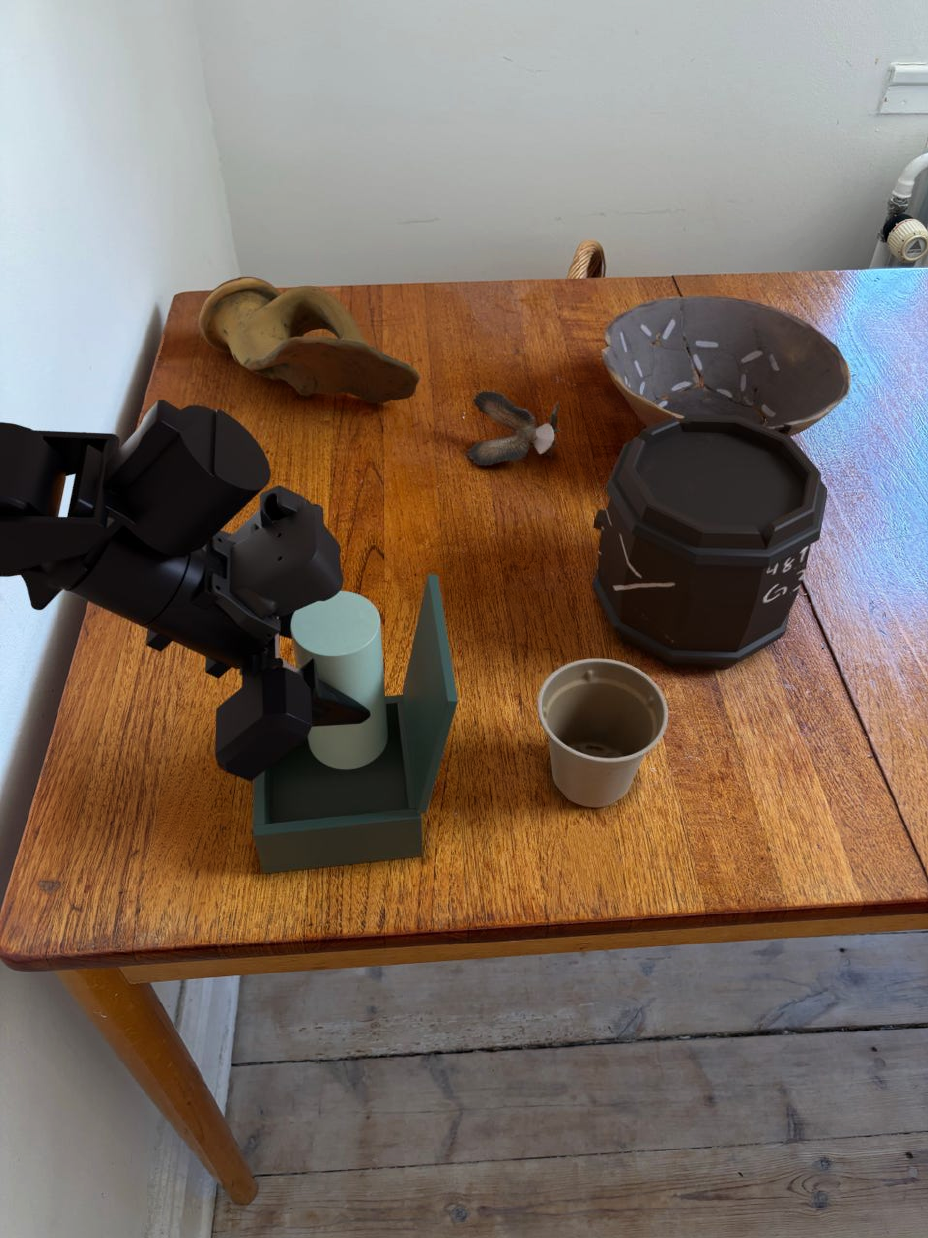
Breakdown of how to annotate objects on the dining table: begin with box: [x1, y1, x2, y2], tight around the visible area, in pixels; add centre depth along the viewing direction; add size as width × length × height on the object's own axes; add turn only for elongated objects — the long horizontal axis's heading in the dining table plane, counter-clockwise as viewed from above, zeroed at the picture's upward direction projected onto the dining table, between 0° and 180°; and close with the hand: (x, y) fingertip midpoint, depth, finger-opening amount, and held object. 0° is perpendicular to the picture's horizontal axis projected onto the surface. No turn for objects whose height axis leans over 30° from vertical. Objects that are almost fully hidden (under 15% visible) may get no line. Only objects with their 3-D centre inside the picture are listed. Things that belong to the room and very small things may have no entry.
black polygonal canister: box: [591, 414, 828, 671], centre depth 86 cm, size 18×18×16 cm
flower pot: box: [536, 658, 669, 808], centre depth 76 cm, size 9×9×9 cm
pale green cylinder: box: [290, 590, 388, 769], centre depth 67 cm, size 6×6×12 cm
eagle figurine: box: [467, 390, 562, 467], centre depth 105 cm, size 8×7×9 cm
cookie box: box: [252, 694, 424, 875], centre depth 75 cm, size 12×11×5 cm
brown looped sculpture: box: [198, 276, 421, 404], centre depth 110 cm, size 18×13×22 cm
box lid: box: [401, 573, 459, 815], centre depth 69 cm, size 12×11×1 cm
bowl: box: [601, 295, 852, 438], centre depth 106 cm, size 25×25×10 cm
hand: (363, 683), depth 68 cm, fingers closed on pale green cylinder, 5 cm apart
